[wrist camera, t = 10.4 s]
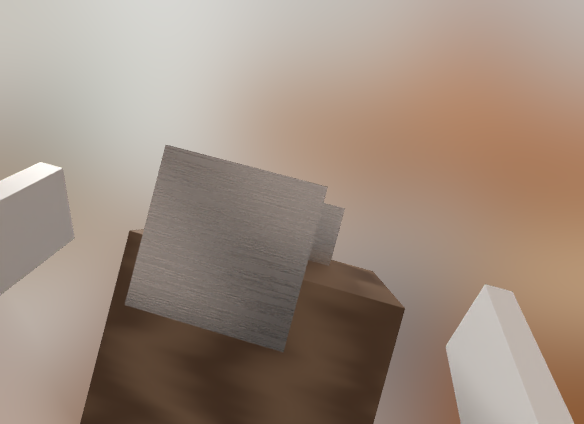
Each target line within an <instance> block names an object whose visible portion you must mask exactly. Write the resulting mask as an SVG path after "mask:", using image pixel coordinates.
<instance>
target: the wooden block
mask: <svg viewBox="0 0 584 424" xmlns="http://www.w3.org/2000/svg"><path fill="white" fill-rule="evenodd" d="M143 231H144V229H141V230H131V231H129V235H128V239H127V243H126V247H125V251H124V254H123V258H122V262H121V266H120V270H119V274H118V278H117V282H116V286H115V290H114V294H113V297H112V301H111V305H110V309H109V313H108V317H107V321H106V325H105V329H104V333H103V337H102V340H101V344H100V348H99V352H98V356H97V360H96V364H95V368H94V372H93V376H92V380H91V384H90V388H89V391H88V395H87V399H86V403H85V407H84V411H83V415H82V419H81V423H80V424H373V422H374V419H375V415H376V411H377V408H378V404H379V401H380V397H381V393H382V390H383V386H384V383H385V379H386V375H387V372H388V368H389V364H390V360H391V357H392V353H393V350H394V346H395V343H396V339H397V335H398V332H399V328H400V324H401V321H402V317H403V313H404V310H405V308H404V307H403V306H402V305H401V303H400V302H399V301H398V300H397V299H396V298H395V296H394V295H393V294H392V293H391V292H390V291H389V289H388V288H387V287H386V286H385V285H384V284H383V282H382V281H381V280H380V279H379V278H378V277H377V276H376V275H375V273H374V272H373V271H370V270H366V269H363V268H359V267H355V266H352V265H348V264H344V263H341V262H337V261H334V260H331V262H330V266H328V265H324V264H321V263H317V262H313V261H310V260H308V262H307V266H306V270H305V274H304V277H303V281H302V285H301V289H300V292H299V296H298V300H297V303H296V307H295V311H294V315H293V318H292V322H291V326H290V330H289V333H288V337H287V341H286V345H285V348H284V352H280V351H277V350H273V349H270V348H267V347H263V346H260V345H257V344H253V343H250V342H247V341H243V340H240V339H237V338H233V337H230V336H227V335H223V334H220V333H217V332H213V331H210V330H207V329H203V328H200V327H197V326H193V325H190V324H187V323H183V322H180V321H177V320H173V319H170V318H167V317H163V316H160V315H157V314H153V313H150V312H147V311H143V310H140V309H136V308H133V307H130V306H126V305H125V301H126V298H127V294H128V290H129V286H130V282H131V278H132V274H133V270H134V266H135V263H136V259H137V255H138V251H139V247H140V243H141V239H142V235H143Z"/></svg>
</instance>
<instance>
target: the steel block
mask: <svg viewBox="0 0 584 424" xmlns="http://www.w3.org/2000/svg"><path fill="white" fill-rule="evenodd" d="M326 192H327V187H326V186H322V185H318V184H315V183H311V182H307V181H303V180H299V179H296V178H291V177H287V176H284V175H280V174H276V173H272V172H269V171H265V170H261V169H257V168H253V167H249V166H246V165H242V164H238V163H234V162H230V161H226V160H223V159H219V158H215V157H211V156H207V155H203V154H199V153H196V152H192V151H188V150H184V149H180V148H177V147H173V146H168V145H166V146H165V150H164V153H163V158H162V161H161V165H160V169H159V173H158V177H157V181H156V185H155V189H154V192H153V196H152V201H151V204H150V208H149V212H148V216H147V220H146V224H145V228H144V231H143V235H142V239H141V243H140V247H139V251H138V255H137V259H136V263H135V266H134V270H133V274H132V278H131V282H130V286H129V290H128V294H127V298H126V301H125V305H126V306H130V307H133V308H136V309H140V310H143V311H147V312H150V313H153V314H157V315H160V316H163V317H167V318H170V319H173V320H177V321H180V322H183V323H187V324H190V325H193V326H197V327H200V328H203V329H207V330H210V331H213V332H217V333H220V334H223V335H227V336H230V337H233V338H237V339H240V340H243V341H247V342H250V343H253V344H257V345H260V346H263V347H267V348H270V349H273V350H277V351H280V352H284V348H285V345H286V341H287V337H288V333H289V330H290V326H291V322H292V318H293V315H294V311H295V307H296V303H297V300H298V296H299V292H300V289H301V285H302V281H303V277H304V274H305V270H306V266H307V262H308V260H310V261H313V262H317V263H321V264H324V265H328V266H330V262H331V258H332V254H333V251H334V247H335V243H336V239H337V236H338V232H339V229H340V224H341V221H342V217H343V214H344V210H345V208H341V207H337V206H333V205H330V204H325V203H324V199H325V195H326Z"/></svg>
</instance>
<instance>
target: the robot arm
mask: <svg viewBox="0 0 584 424" xmlns="http://www.w3.org/2000/svg"><path fill="white" fill-rule="evenodd" d="M73 239H74V232H73V226H72V220H71V215H70V208H69V202H68V196H67V190H66V184H65V178H64V173H63V168H60V167H57V166H53V165H50V164H46V163H42V162H40V163H38V164H35V165H33V166H31V167H29V168H27V169H25V170H23V171H20V172H18V173H16V174H14V175H12V176H10V177H7V178H5V179H3V180H1V181H0V295H1V294H3V293H4V292H5V291H7V290H8V289H9V288H10V287H12V286H13V285H14V284H16V283H17V282H18V281H20V280H21V279H22V278H24V277H25V276H26V275H27V274H29V273H30V272H31V271H33V270H34V269H35V268H37V267H38V266H39V265H40V264H42V263H43V262H44V261H46V260H47V259H48V258H50V257H51V256H52V255H53V254H55V253H56V252H57V251H59V250H60V249H61V248H63V247H64V246H65V245H66V244H68V243H69V242H70V241H72V240H73ZM446 350H447V355H448V360H449V365H450V371H451V376H452V381H453V385H454V391H455V396H456V401H457V405H458V411H459V416H460V421H461V424H574V422H573V420H572V418H571V416H570V414H569V411H568V409H567V407H566V405H565V403H564V401H563V399H562V396H561V394H560V392H559V390H558V388H557V386H556V384H555V382H554V379H553V377H552V375H551V373H550V371H549V369H548V367H547V365H546V362H545V360H544V358H543V356H542V354H541V352H540V350H539V347H538V346H537V343H536V341H535V339H534V337H533V335H532V332H531V330H530V328H529V326H528V324H527V322H526V319H525V317H524V315H523V313H522V311H521V309H520V307H519V305H518V302H517V300H516V298H515V296H514V294H513V292H512V291H507V290H504V289H501V288H497V287H494V286H490V285H486V284H485V285H484V287H483V289H482V290H481V292H480V293H479V295H478V296H477V298H476V299H475V301H474V302H473V304H472V306H471V307H470V309H469V310H468V312H467V314H466V315H465V317H464V318H463V320H462V321H461V323H460V325H459V326H458V328H457V329H456V331H455V333H454V334H453V336H452V337H451V339H450V341H449V342H448V344H447V345H446Z"/></svg>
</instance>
